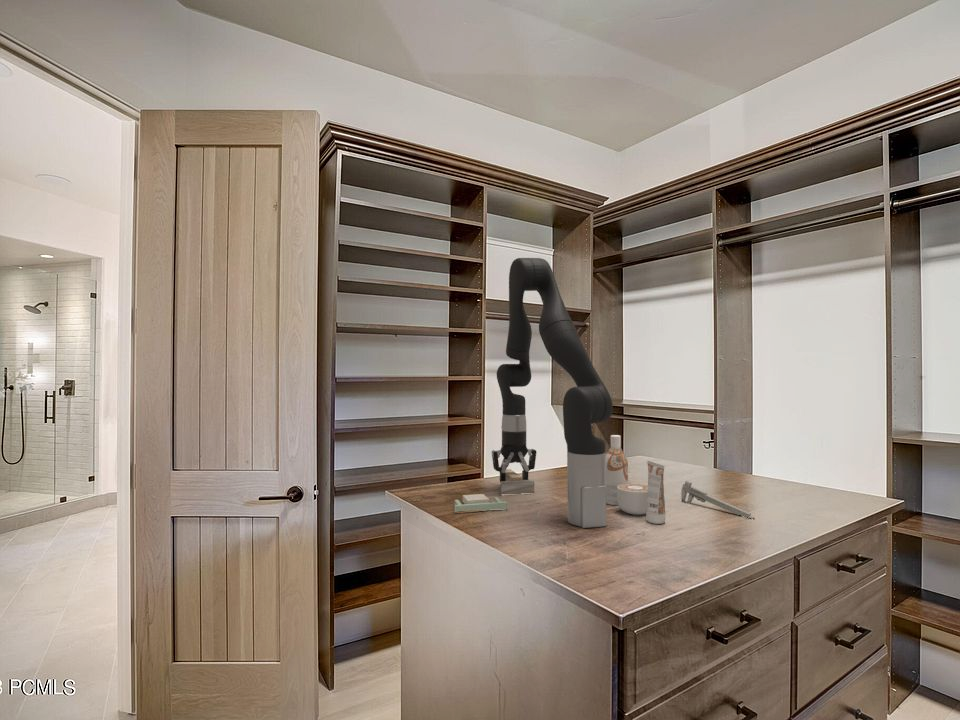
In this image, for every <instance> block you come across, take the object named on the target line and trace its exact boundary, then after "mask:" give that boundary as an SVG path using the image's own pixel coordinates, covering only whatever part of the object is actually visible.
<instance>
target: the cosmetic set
mask: <svg viewBox="0 0 960 720" xmlns="http://www.w3.org/2000/svg"><path fill="white" fill-rule="evenodd" d="M621 438H622V436H621V435H619V434H611V435H610V448H609V449H608V451H607V452H606V453H605V458H606V464H605V475H606V505H610V506H618V507H619V509H621V510H622V511H623V512H624V513H626V514H629V515H634V516H642V515H645V518H646V521H647V522H648V523H650V524H655V525H662V524H665V522H666V504H665V503H666V501H665V486H664V473H665V465H663V464H660V463H657V462H654V461H649V460H647V463H646V464H647V468H648V469H647V470H648V471H647V472H648V473H647V475H648V477H647V478H648V479H647V484H642V483H629V463H628V459H627V456H626V454H625V452H624V450H623V449H622V448H621V447H622V440H621Z"/></svg>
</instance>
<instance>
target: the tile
mask: <svg viewBox="0 0 960 720" xmlns="http://www.w3.org/2000/svg"><path fill="white" fill-rule="evenodd" d="M463 502H464V503H465V504H478V503H490V499H489V497H487V496H486V495H485V493H479V494H463V495H462V503H463Z"/></svg>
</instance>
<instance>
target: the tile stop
mask: <svg viewBox="0 0 960 720" xmlns="http://www.w3.org/2000/svg"><path fill="white" fill-rule="evenodd" d="M490 509H507V510H508V502H507V501H502V500H501V499H500V498H499V497H498V496H495V497H493V502H489V503H478V504H463V503H462V502H461V501H460V500H459V499H454V513H455V512H457V511H471V510H490Z"/></svg>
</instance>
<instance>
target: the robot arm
mask: <svg viewBox="0 0 960 720" xmlns="http://www.w3.org/2000/svg"><path fill="white" fill-rule="evenodd" d="M531 291H532V292H534V291H535V292H537V293H538V295H539V296H540V299H541V302H542V311H541V315H540V318H539V323H538V333H539V336H540V338H541V340H542V342H543V345H544V348H545V350H546V351H547V353H548V355H549V356H550V357H551V358H552V360H554V361H555V362H556V363H557V364H558V366H560V367H561V368H563V370H564V371H566V373H567V374H568V375H569V376H570V377H571V378H572V380H573V381H574V383H575V384H576V386H573V387H570V388H569V389H567V391H566V392H565V394H564V396H563V397H564V398H563V402H562V416H563V417H562V421H563V435H564V441H565V444H566V450H567V451H566V452H567V453H566V457H567V458H566V461H567V462H566V464H567V465H566V466H567V468H566V472H567V475H566V476H567V477H566V480H567V481H566V484H567V485H566V491H567V493H566V494H567V496H566V498H567V500H566V502H567V503H566V505H567V507H566V510H567V512H566V513H567V523H569V524H571V525H573V526H577V527H580V528H583V529H586V528H599V527H601V528H602V527H607V503H606V475H605V464H606V458H605V456H606V453H607V452H606V441H605V440H603V439H602V438H599V437H596V435H594V434H593V429H592V425H593V424H600V423H605V422H606V421H608V420H610V418H611V416H612V414H613V410H614V409H613V407H614V406H613V400H612V396H611V395H610V393H609V390H608V389H607V387H606V385H605V384H604V382H603V381H602V379H601V377H600V375H599V374H598V372H597V370H596V368H595V367H594V365H593V364H592V361H591V359H590V357H589V355H588V353H587V351H586V349H585V347H584V345H583V342H582V341H581V338H580V336H579V333H578V331H577V328H576V327H575V325H574V322H573V320H572V319H571V316H570V314H569V312H568V310H567V308H566V305H565V302H564V300H563V298H562V296H561V293H560V289H559V287H558V284H557V281H556V278H555V275H554V272H553V269H552V267H551V265H550V263H549V262H548V261H547V260H546V259H544V258H541V257H518V258H515V259H514V260H513V261H512V262H511V264H510V267H509V273H508V308H509V309H508V310H509V311H508V312H509V313H508V317H509V319H508V320H509V321H508V333H507V341H506V348H505V354H506V356H507V357H508V358H509V359H512V360H515V361H519V363H502V364H500V365H499V366H498V368H497V370H496V380H497V384H498V387H499V389H500V390H499V391H500V394H501V395H500V396H501V400H502V417H501V427H500V428H501V447H500V450H499V449H498V450H494V449H493V450H492V451H491V457H492V458H491V459H492V460H491V461H492V467H493V470H495V471H496V472H499V482H500V483H501V481H506V473H505V471H506V469H508V468H509V466H510V464H514V463H517V464H518V463H519V465H520V466H521V468H522V471H521V474H522V476H521V477H522V480H529V472H530V471H531V470H534V469H535V467H536V459H537V450H536V449H534V448H528V447H527V416H526V396H524V395H521V394H517V393H514V392H513V391H512V390H511V388H514V387H515V388H522V387H526V386H528V385H529V384H530V383H531V379H532V370H531V369H532V368H531V364H530V363H531V361H530V351H531V343H532V338H533V336H532V335H533V334H532V333H533V331H532V325H531V322H530V320H529V317H528V315H527V313H526V311H525V307H524V295H525V292H531ZM501 455H502V457H503V459H502V461H501V465H500V463H499V459H500V456H501ZM526 455H527V456H529V458H528V463H527V461H526V459H525V457H526Z"/></svg>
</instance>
